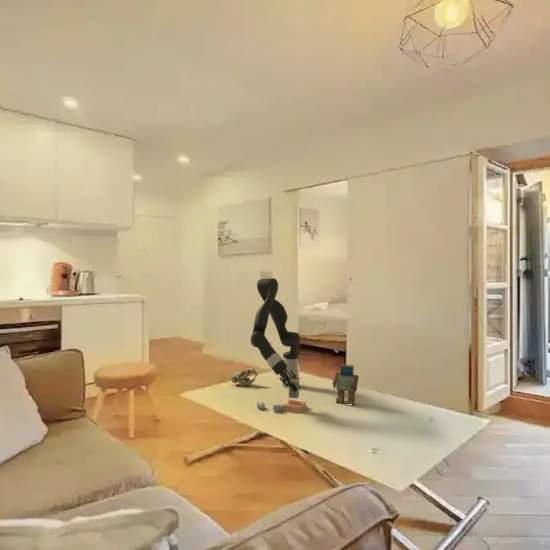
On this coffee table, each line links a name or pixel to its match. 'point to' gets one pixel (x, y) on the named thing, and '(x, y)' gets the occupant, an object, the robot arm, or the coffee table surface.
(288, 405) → the holder
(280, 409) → the clip
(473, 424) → the coffee table surface
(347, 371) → the toy
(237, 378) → the skull
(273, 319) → the robot arm
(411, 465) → the coffee table surface
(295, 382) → the plug
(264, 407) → the clip
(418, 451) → the coffee table surface
